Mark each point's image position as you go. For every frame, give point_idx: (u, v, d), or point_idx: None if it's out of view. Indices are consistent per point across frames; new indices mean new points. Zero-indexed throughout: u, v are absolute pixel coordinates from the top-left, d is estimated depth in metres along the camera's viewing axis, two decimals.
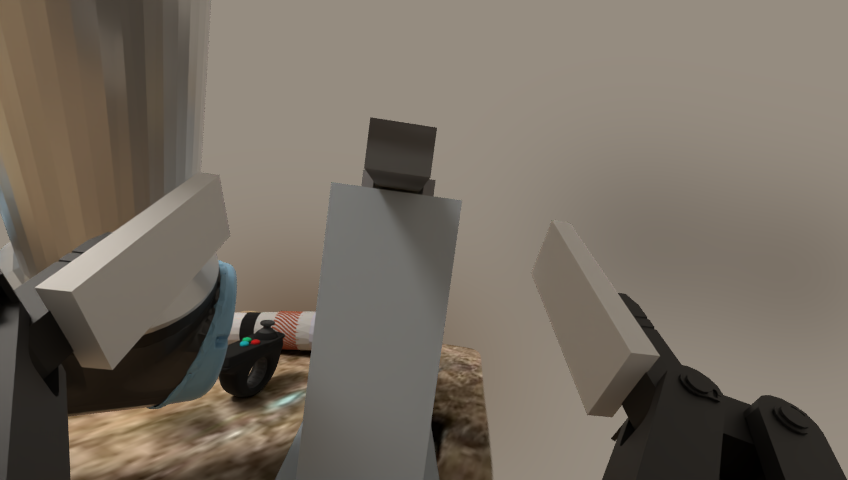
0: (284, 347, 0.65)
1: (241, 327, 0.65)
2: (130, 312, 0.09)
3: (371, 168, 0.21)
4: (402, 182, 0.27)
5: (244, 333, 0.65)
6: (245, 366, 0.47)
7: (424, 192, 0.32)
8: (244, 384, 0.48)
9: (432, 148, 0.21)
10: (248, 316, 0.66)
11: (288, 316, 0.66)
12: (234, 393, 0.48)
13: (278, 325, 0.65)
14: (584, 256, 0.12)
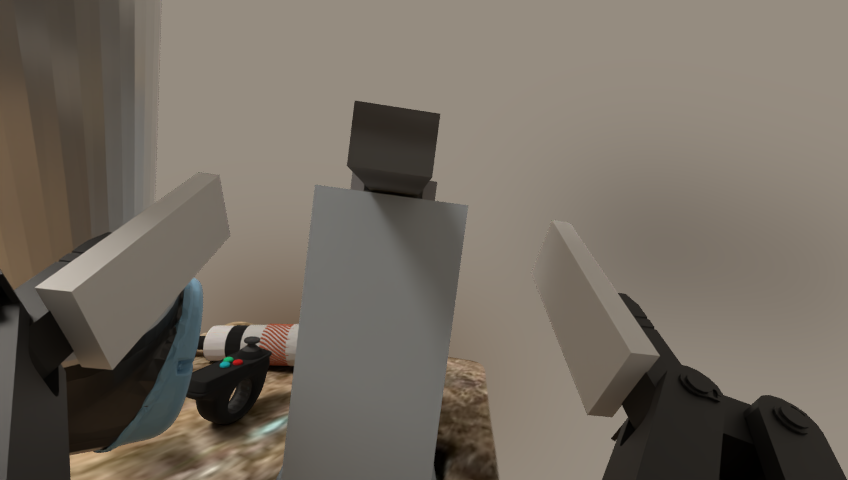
0: (273, 363, 0.61)
1: (227, 342, 0.60)
2: (130, 312, 0.09)
3: (356, 166, 0.16)
4: (397, 184, 0.22)
5: (230, 348, 0.60)
6: (225, 390, 0.43)
7: (424, 196, 0.28)
8: (224, 410, 0.43)
9: (434, 140, 0.17)
10: (234, 330, 0.61)
11: (278, 329, 0.61)
12: (213, 420, 0.43)
13: (267, 339, 0.60)
14: (584, 256, 0.12)
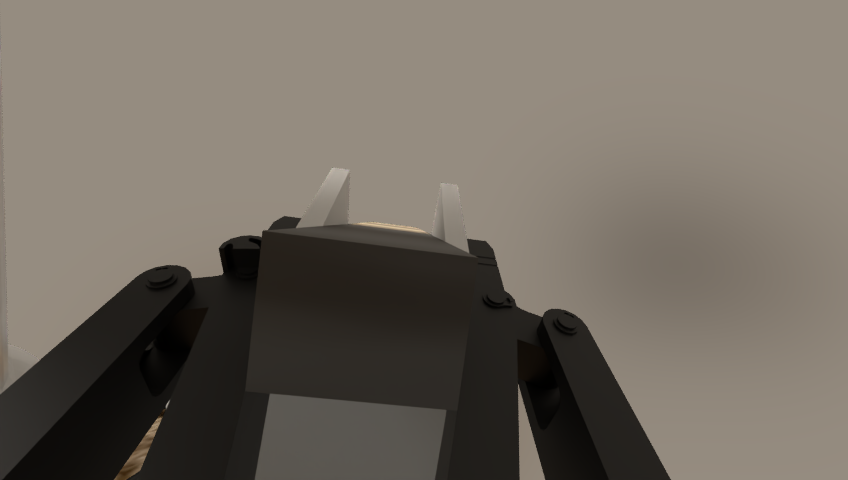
0: None
1: None
2: None
3: (270, 389, 0.07)
4: None
5: None
6: None
7: None
8: None
9: (464, 322, 0.07)
10: None
11: None
12: None
13: None
14: (453, 209, 0.14)
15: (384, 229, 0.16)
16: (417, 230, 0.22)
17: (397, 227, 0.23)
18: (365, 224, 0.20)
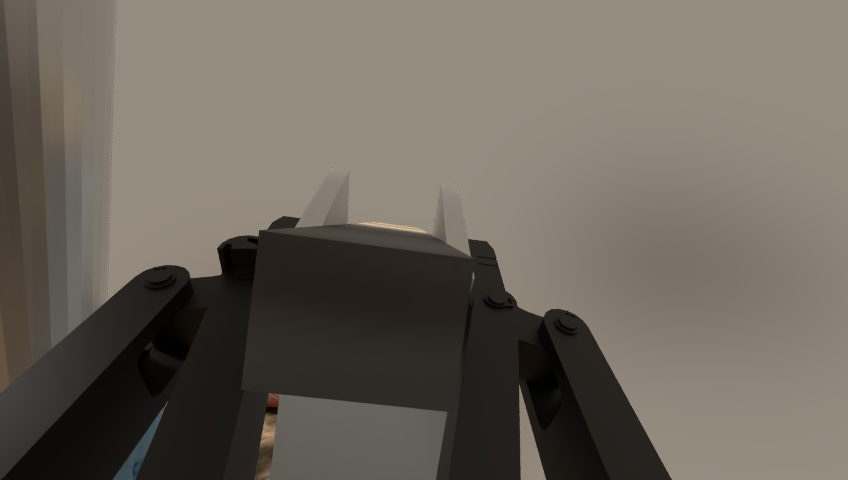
0: (267, 405, 0.57)
1: None
2: None
3: (265, 388, 0.07)
4: None
5: None
6: None
7: None
8: None
9: (460, 323, 0.07)
10: None
11: None
12: None
13: None
14: (454, 209, 0.14)
15: (384, 229, 0.16)
16: None
17: (398, 227, 0.23)
18: (366, 224, 0.20)
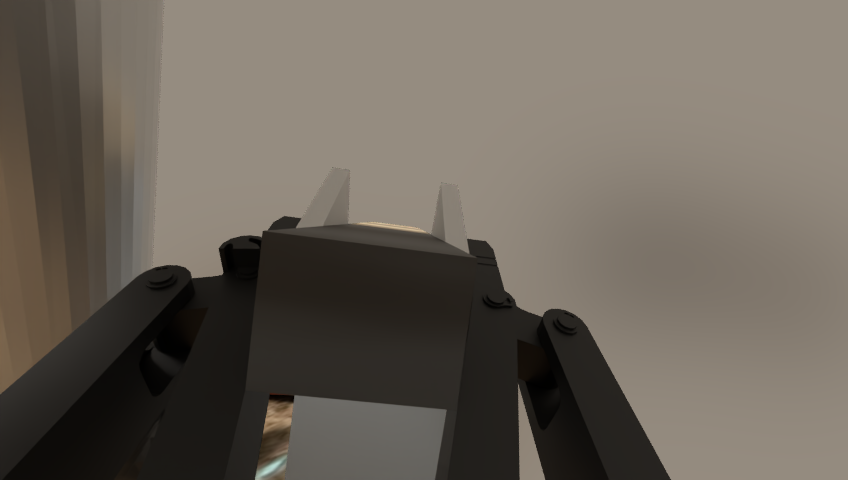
0: (275, 393, 0.61)
1: None
2: None
3: (270, 388, 0.07)
4: None
5: None
6: None
7: None
8: None
9: (463, 321, 0.07)
10: None
11: None
12: None
13: None
14: (453, 209, 0.14)
15: (384, 229, 0.16)
16: (417, 230, 0.22)
17: (397, 227, 0.23)
18: (365, 224, 0.20)
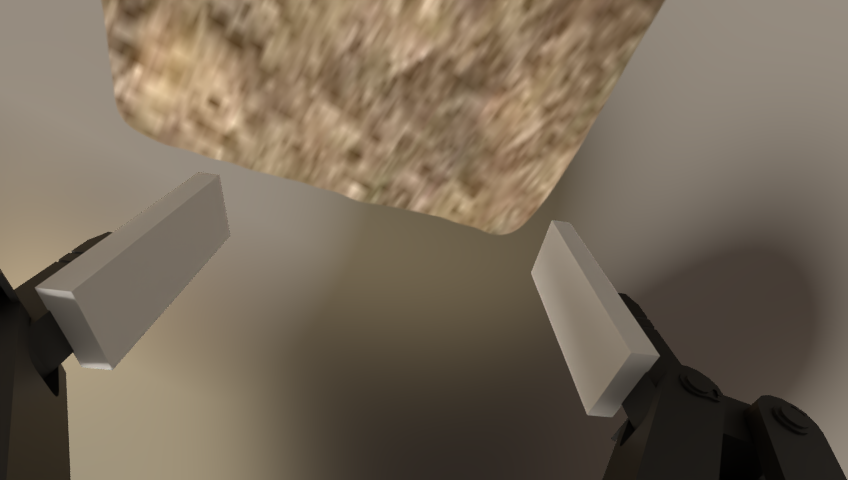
0: None
1: None
2: (130, 312, 0.09)
3: None
4: None
5: None
6: None
7: None
8: None
9: None
10: None
11: None
12: None
13: None
14: (584, 256, 0.12)
15: None
16: None
17: None
18: None
